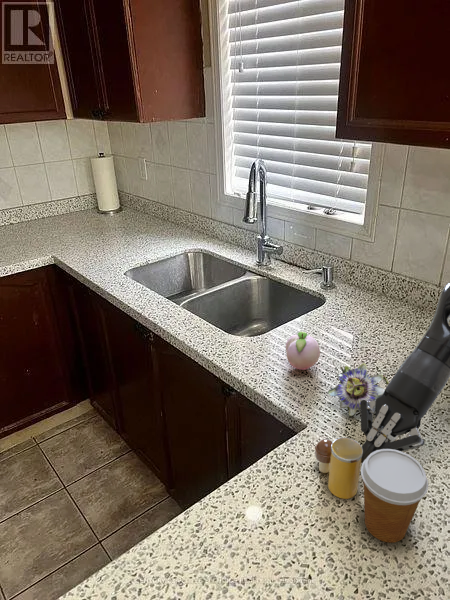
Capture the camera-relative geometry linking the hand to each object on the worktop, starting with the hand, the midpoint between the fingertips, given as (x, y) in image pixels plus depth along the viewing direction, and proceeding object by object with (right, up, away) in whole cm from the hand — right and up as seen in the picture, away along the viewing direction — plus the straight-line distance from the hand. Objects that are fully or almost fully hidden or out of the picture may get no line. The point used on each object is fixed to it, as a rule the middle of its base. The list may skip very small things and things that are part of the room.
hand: (362, 463), depth 78 cm
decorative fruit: (-5, +11, +34) cm, 36 cm away
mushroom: (-6, -3, +4) cm, 8 cm away
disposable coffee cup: (+2, -8, -6) cm, 10 cm away
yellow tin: (-3, -5, +1) cm, 6 cm away
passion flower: (+6, +5, +20) cm, 22 cm away
